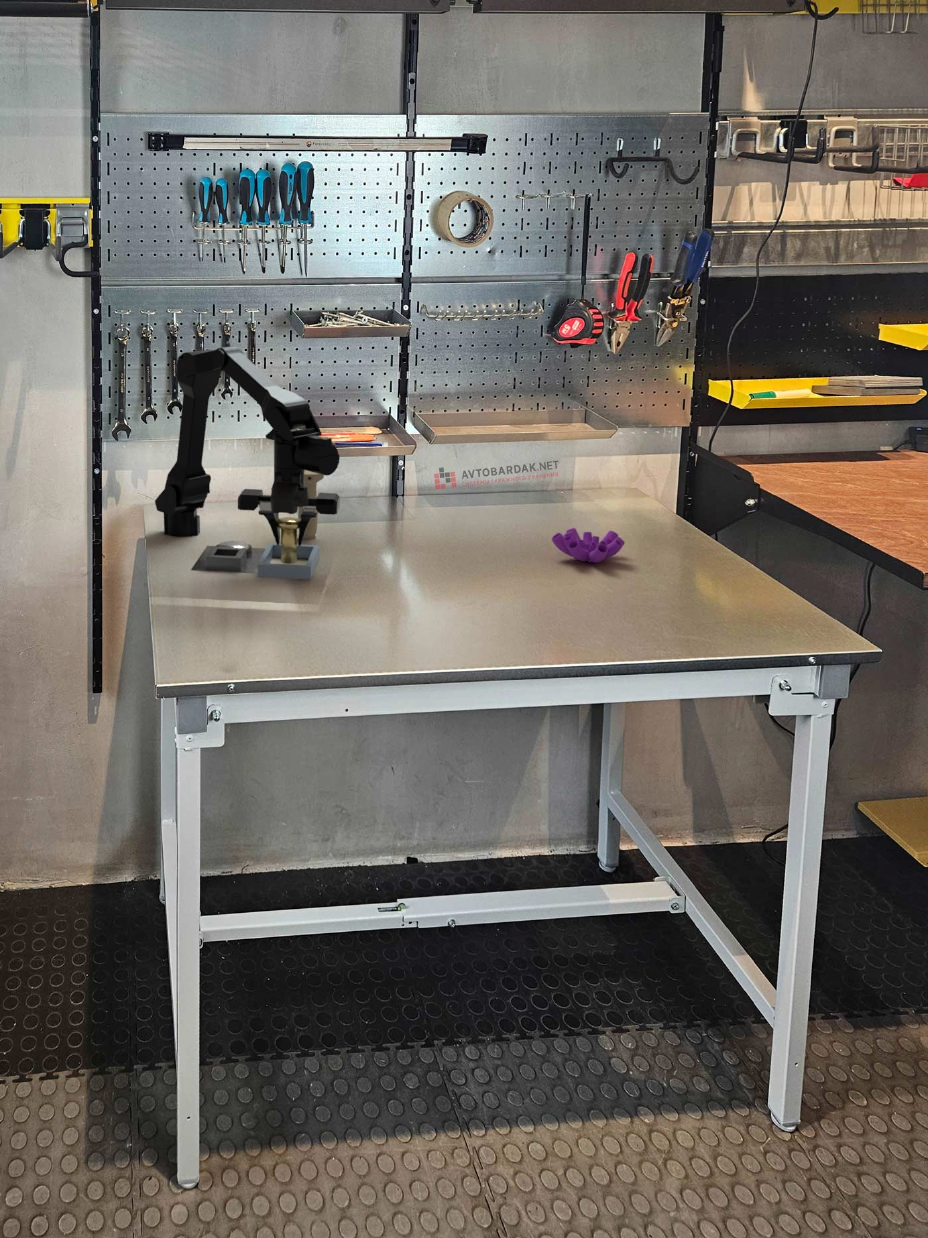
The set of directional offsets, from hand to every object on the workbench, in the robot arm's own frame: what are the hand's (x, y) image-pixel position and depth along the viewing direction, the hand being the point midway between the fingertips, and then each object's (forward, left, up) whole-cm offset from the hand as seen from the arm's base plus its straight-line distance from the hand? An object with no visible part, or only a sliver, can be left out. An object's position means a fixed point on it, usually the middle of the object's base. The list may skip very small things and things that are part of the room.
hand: (289, 544), depth 251 cm
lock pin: (0, 0, -3) cm, 3 cm away
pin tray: (0, 0, -6) cm, 6 cm away
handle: (+1, +21, -6) cm, 22 cm away
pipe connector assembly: (+59, +17, -6) cm, 62 cm away
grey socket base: (-12, +3, -6) cm, 13 cm away
